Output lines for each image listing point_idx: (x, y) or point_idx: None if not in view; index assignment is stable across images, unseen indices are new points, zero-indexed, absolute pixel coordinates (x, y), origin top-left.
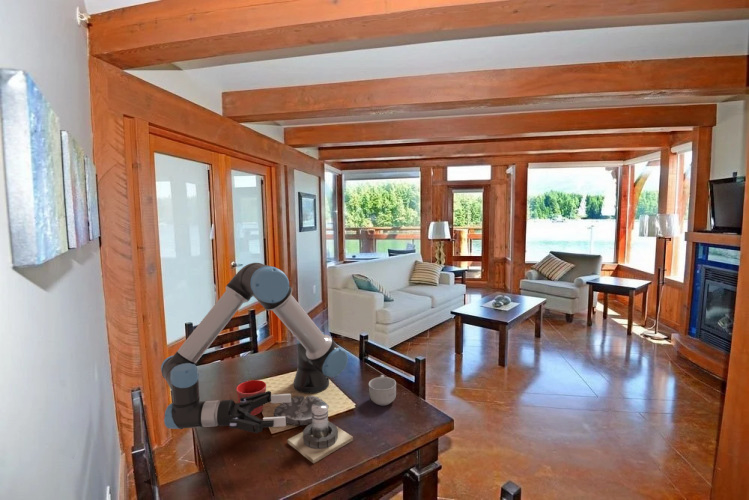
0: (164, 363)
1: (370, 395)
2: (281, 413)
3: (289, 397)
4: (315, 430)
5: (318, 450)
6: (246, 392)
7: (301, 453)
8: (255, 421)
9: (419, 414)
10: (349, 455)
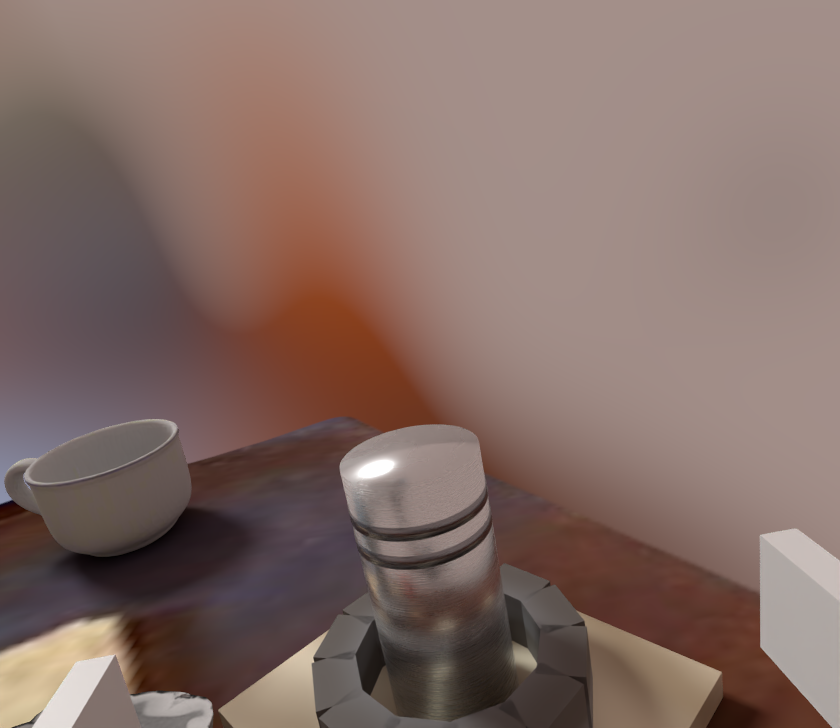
0: None
1: (110, 524)
2: None
3: (120, 710)
4: (502, 621)
5: (605, 669)
6: None
7: None
8: None
9: (286, 451)
10: (568, 559)
